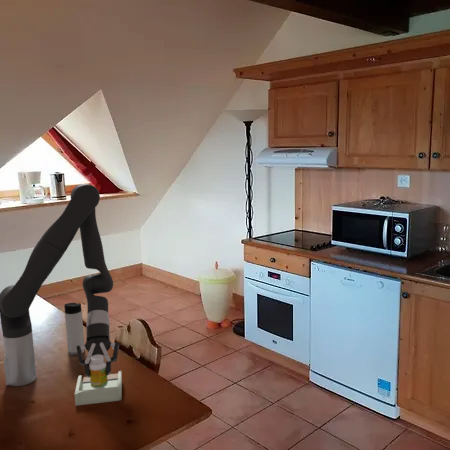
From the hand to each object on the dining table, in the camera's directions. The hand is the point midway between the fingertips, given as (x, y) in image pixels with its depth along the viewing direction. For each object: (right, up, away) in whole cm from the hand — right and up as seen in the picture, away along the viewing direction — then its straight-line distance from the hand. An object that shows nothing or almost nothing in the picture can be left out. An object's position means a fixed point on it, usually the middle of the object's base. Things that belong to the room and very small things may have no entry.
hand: (98, 375), depth 155 cm
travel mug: (-17, -2, +34) cm, 38 cm away
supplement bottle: (0, -4, +3) cm, 5 cm away
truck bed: (-1, -6, +5) cm, 8 cm away
